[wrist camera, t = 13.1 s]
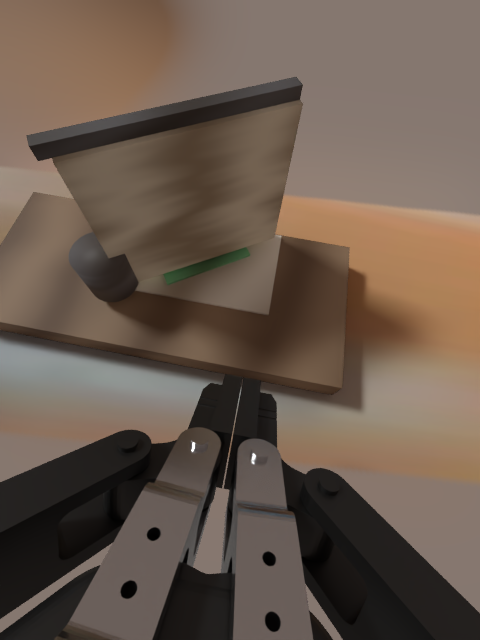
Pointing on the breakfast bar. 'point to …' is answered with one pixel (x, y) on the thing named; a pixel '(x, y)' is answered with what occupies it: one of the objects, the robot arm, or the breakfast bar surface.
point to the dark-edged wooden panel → (175, 182)
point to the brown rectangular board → (185, 303)
